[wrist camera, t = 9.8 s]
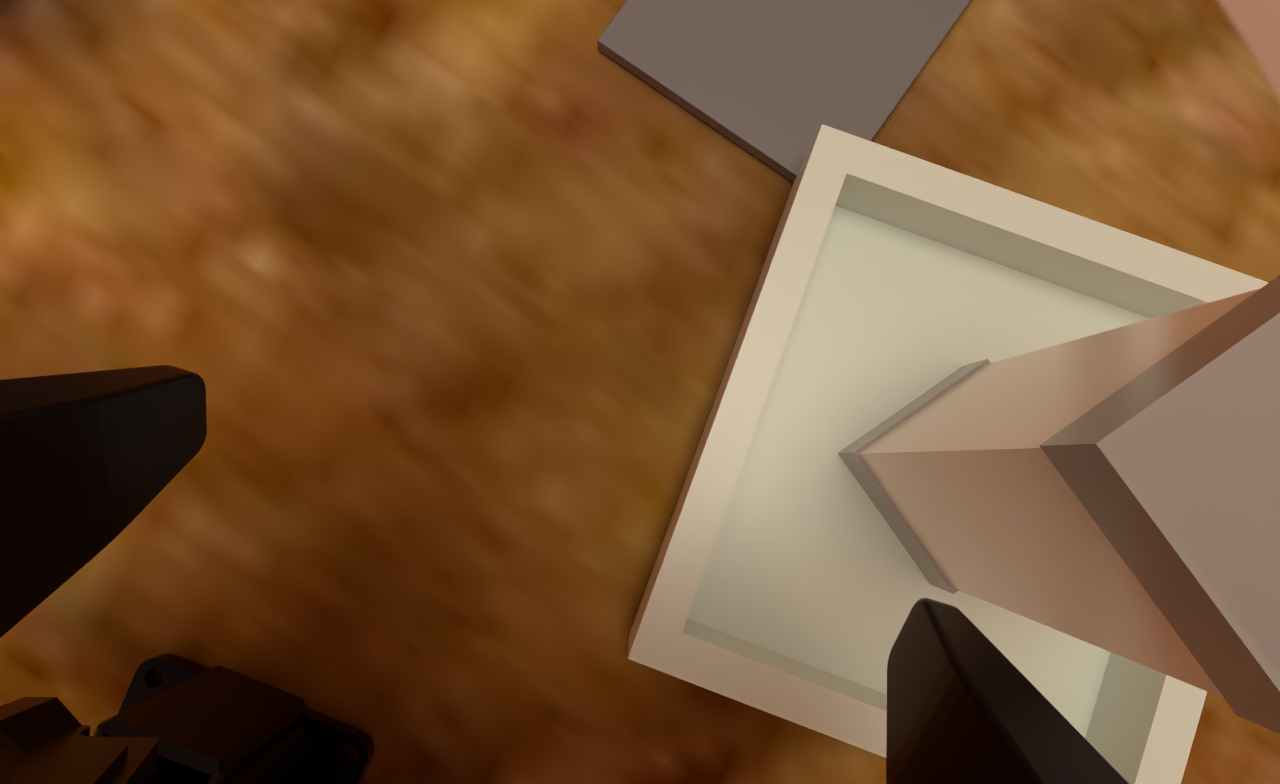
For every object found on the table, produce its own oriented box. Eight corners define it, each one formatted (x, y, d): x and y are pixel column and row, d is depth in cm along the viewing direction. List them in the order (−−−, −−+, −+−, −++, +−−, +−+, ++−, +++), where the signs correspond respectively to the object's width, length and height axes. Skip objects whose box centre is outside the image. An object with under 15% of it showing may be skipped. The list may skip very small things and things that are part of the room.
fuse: (930, 584, 19) (1325, 752, 8) (837, 453, 19) (1096, 444, 8) (1056, 494, 19) (1605, 538, 8) (962, 365, 20) (1372, 246, 9)
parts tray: (1090, 809, 19) (1157, 862, 16) (628, 633, 19) (627, 658, 17) (1235, 320, 20) (1319, 300, 18) (799, 164, 21) (821, 123, 18)
